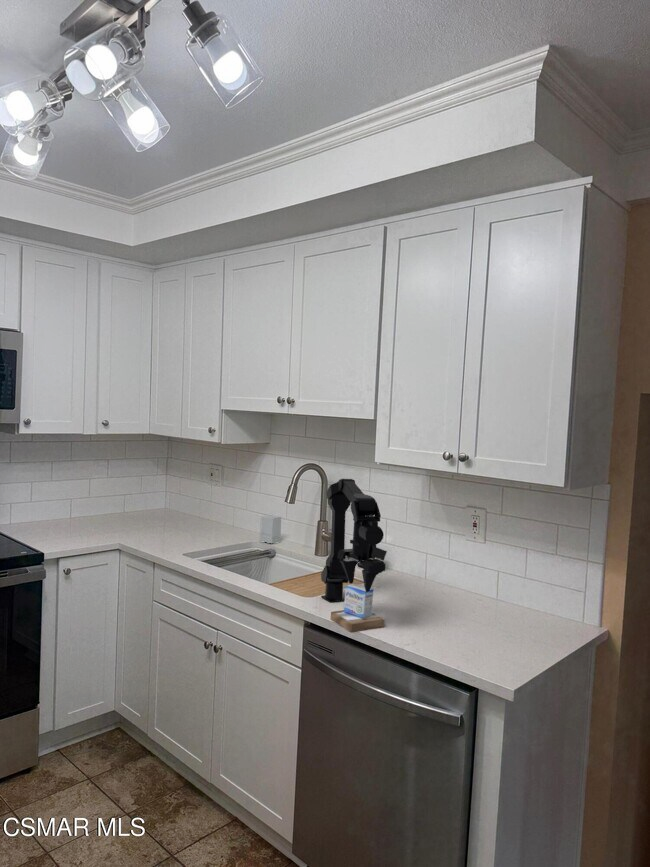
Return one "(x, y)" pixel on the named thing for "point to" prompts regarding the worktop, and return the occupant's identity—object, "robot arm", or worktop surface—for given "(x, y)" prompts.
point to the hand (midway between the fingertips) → (359, 587)
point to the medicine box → (358, 601)
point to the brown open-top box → (356, 621)
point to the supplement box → (270, 529)
